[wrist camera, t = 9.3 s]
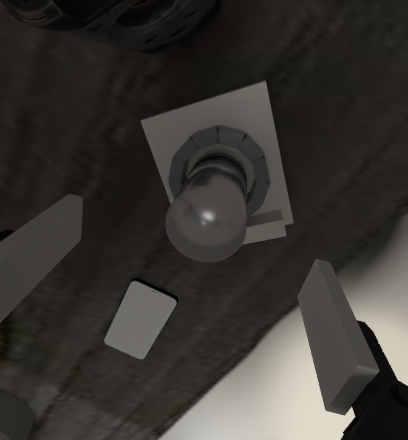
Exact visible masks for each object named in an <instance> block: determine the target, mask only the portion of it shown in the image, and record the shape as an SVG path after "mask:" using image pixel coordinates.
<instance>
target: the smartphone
mask: <svg viewBox="0 0 408 440" xmlns="http://www.w3.org/2000/svg"><path fill="white" fill-rule="evenodd" d="M177 304H178V298H177V297H176V296H175V295H173V294H171V293H169V292H167V291H165V290H162V289H160V288H158V287H156V286H154V285H152V284H150V283H147V282H145V281H143V280H141V279H139V278H134V279H132V280H131V282H130V284H129V286H128V288H127V290H126V291H125V294H124V295H123V298H122V301H121V302H120V304H119V307H118V310H117V312H116V314H115V316H114V318H113V320H112V322H111V325H110V327H109V329H108V331H107V333H106V335H105V337H104V340H103V341H104V343H105V344H106V345H108V346H110V347H112V348H115V349H117V350H119V351H121V352H123V353H126V354H128V355H130V356H132V357H135V358H137V359H139V360H143V359H145V358H146V356H147V354H148V353H149V351H150V349H151V348H152V346H153V344H154V343H155V341H156V339H157V338H158V336H159V334H160V333H161V331H162V329H163V328H164V326H165V325H166V323H167V321H168V320H169V318H170V316H171V314H172V313H173V311H174V309H175V308H176V306H177Z"/></svg>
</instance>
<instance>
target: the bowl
mask: <svg viewBox="0 0 408 440" xmlns="http://www.w3.org/2000/svg"><path fill="white" fill-rule="evenodd" d="M33 422H34V417H33V414H32V412H31V410H30V409H29V408H28V407H27V405H25V404H24V403H23V402H22V401H21V400H19V399H18V398H16V397H14V396H13V395H11V394H8V393H6V392H3V391H0V440H27V438H28V436H29V433H30V430H31V427H32V424H33Z"/></svg>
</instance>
